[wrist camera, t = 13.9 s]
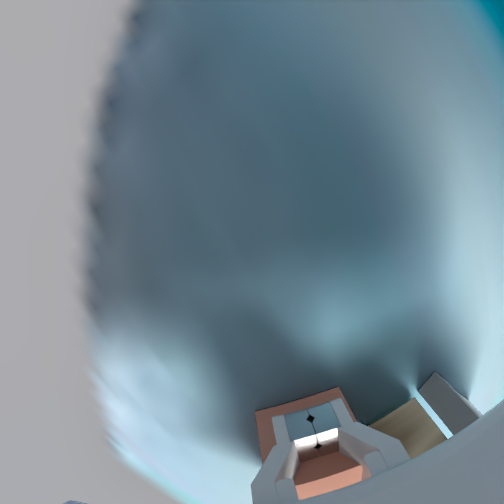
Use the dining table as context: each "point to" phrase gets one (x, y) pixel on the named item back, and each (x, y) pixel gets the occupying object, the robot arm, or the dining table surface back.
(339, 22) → the dining table surface
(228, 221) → the dining table surface
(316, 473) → the salmon pink block
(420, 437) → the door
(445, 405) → the light grey slab
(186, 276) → the dining table surface
